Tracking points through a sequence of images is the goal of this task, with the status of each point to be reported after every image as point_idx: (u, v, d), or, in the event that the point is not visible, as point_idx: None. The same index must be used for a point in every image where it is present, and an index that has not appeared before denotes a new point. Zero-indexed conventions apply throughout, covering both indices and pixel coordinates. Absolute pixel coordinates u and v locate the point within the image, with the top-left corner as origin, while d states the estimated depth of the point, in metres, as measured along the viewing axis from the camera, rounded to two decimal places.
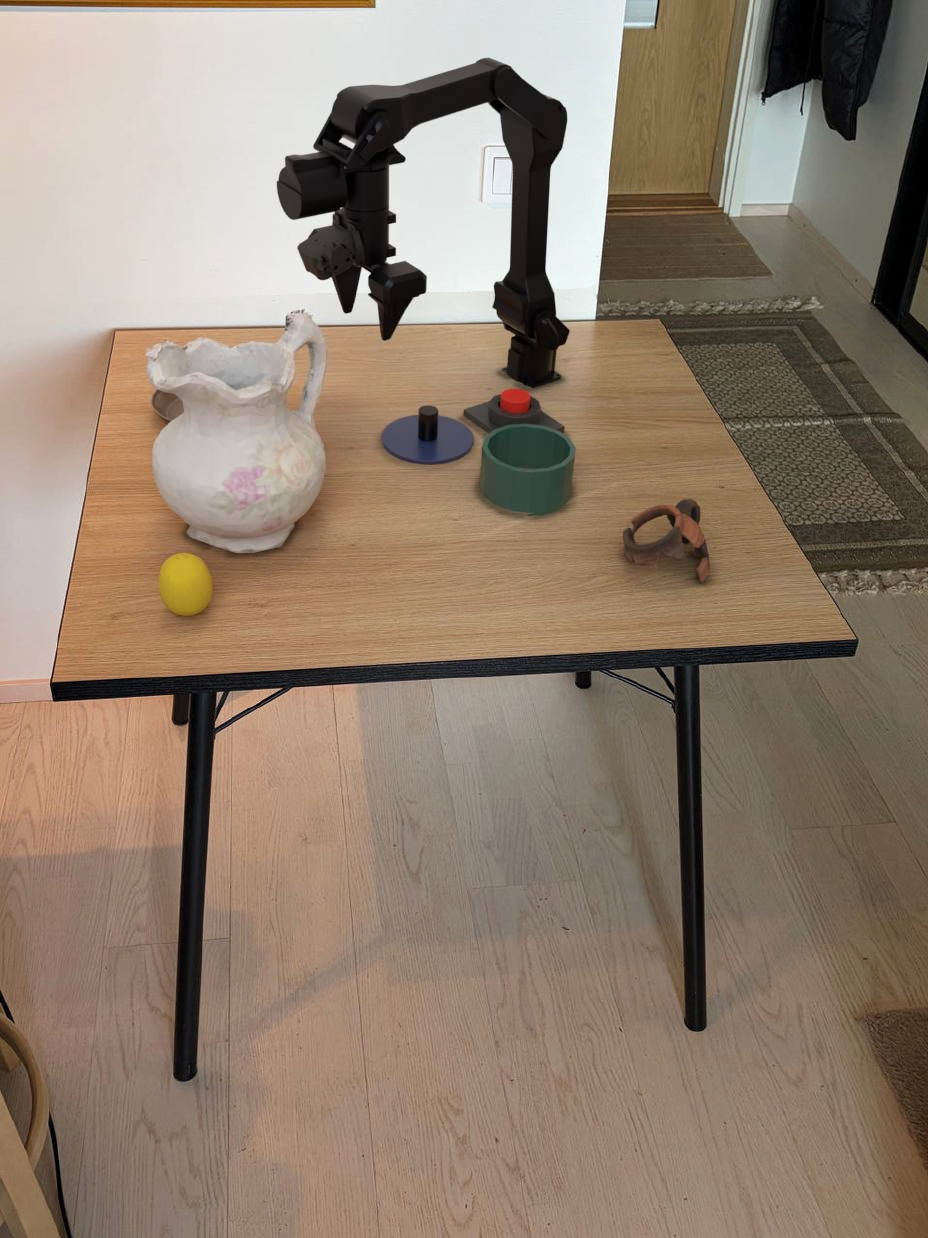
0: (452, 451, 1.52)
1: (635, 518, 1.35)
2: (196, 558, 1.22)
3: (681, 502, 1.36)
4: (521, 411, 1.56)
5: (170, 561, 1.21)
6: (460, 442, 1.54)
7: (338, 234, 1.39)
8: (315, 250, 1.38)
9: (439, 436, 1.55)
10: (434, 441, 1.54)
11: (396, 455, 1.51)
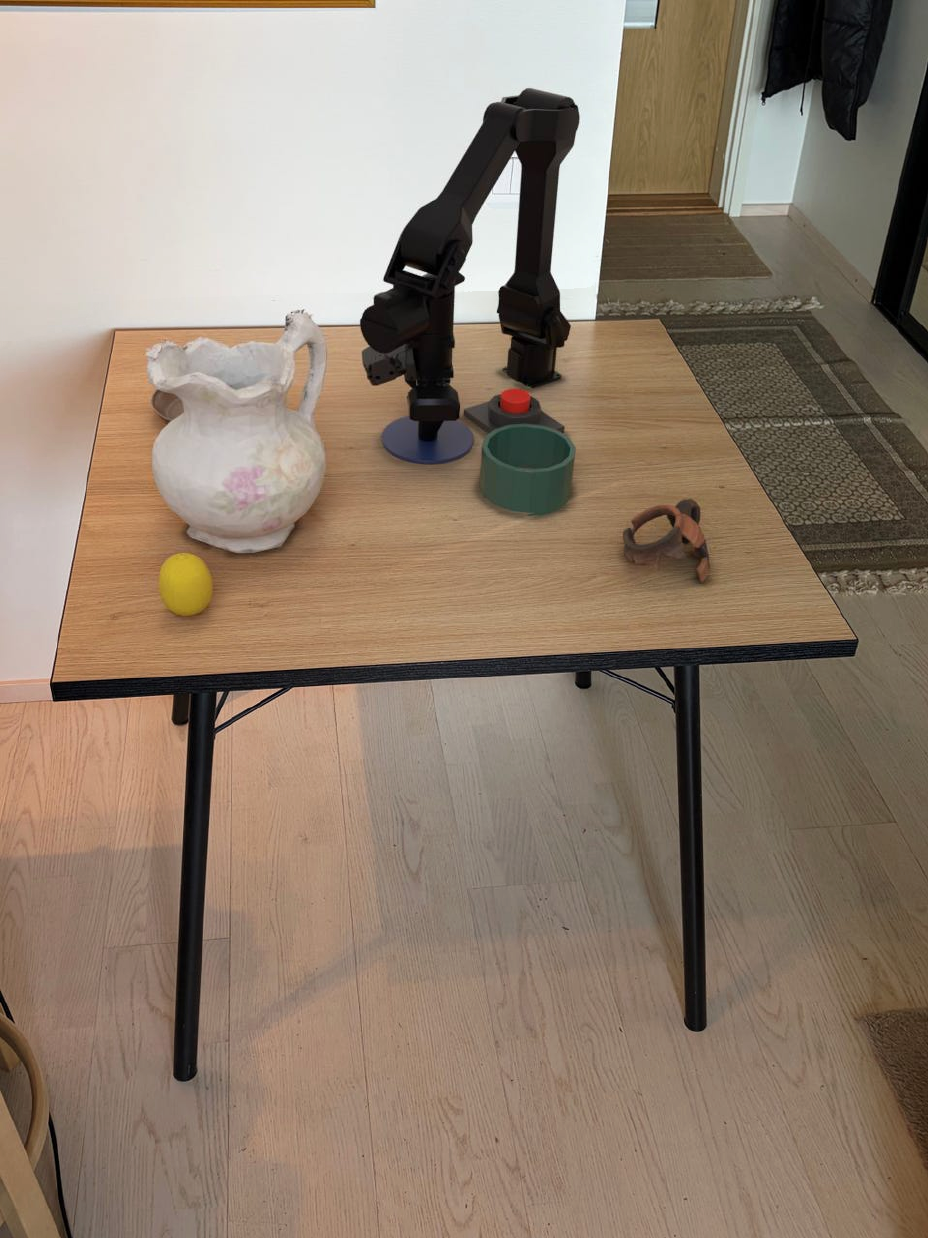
0: (452, 451, 1.52)
1: (635, 518, 1.35)
2: (196, 558, 1.22)
3: (681, 502, 1.36)
4: (521, 411, 1.56)
5: (170, 561, 1.21)
6: (460, 442, 1.54)
7: (397, 347, 1.46)
8: (371, 357, 1.46)
9: (439, 436, 1.55)
10: (434, 441, 1.54)
11: (396, 455, 1.51)
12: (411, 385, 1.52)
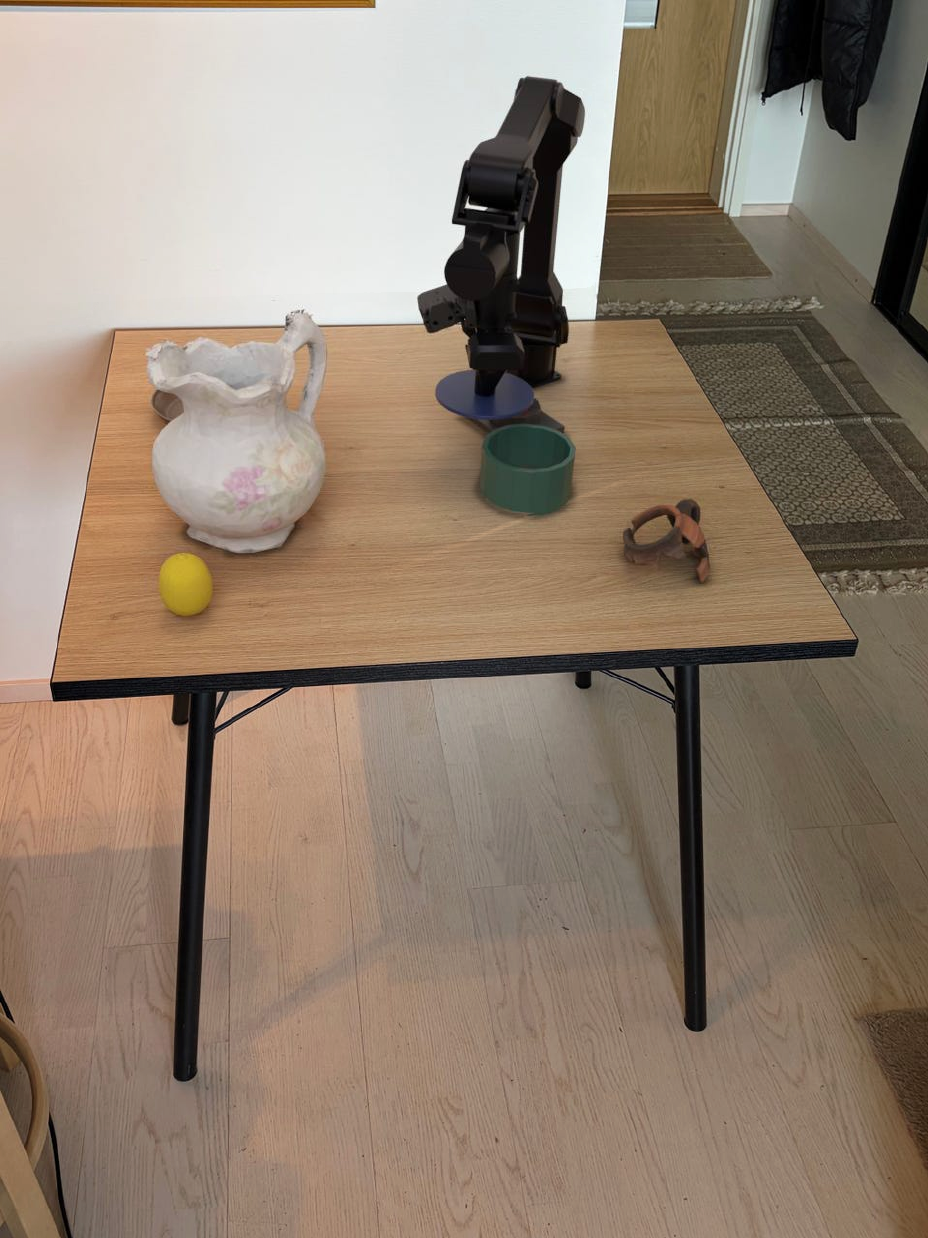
0: (512, 407, 1.41)
1: (635, 518, 1.35)
2: (196, 558, 1.22)
3: (681, 502, 1.36)
4: None
5: (170, 561, 1.21)
6: (520, 397, 1.43)
7: None
8: (427, 302, 1.35)
9: (497, 391, 1.44)
10: (492, 396, 1.43)
11: (451, 410, 1.40)
12: (469, 335, 1.41)
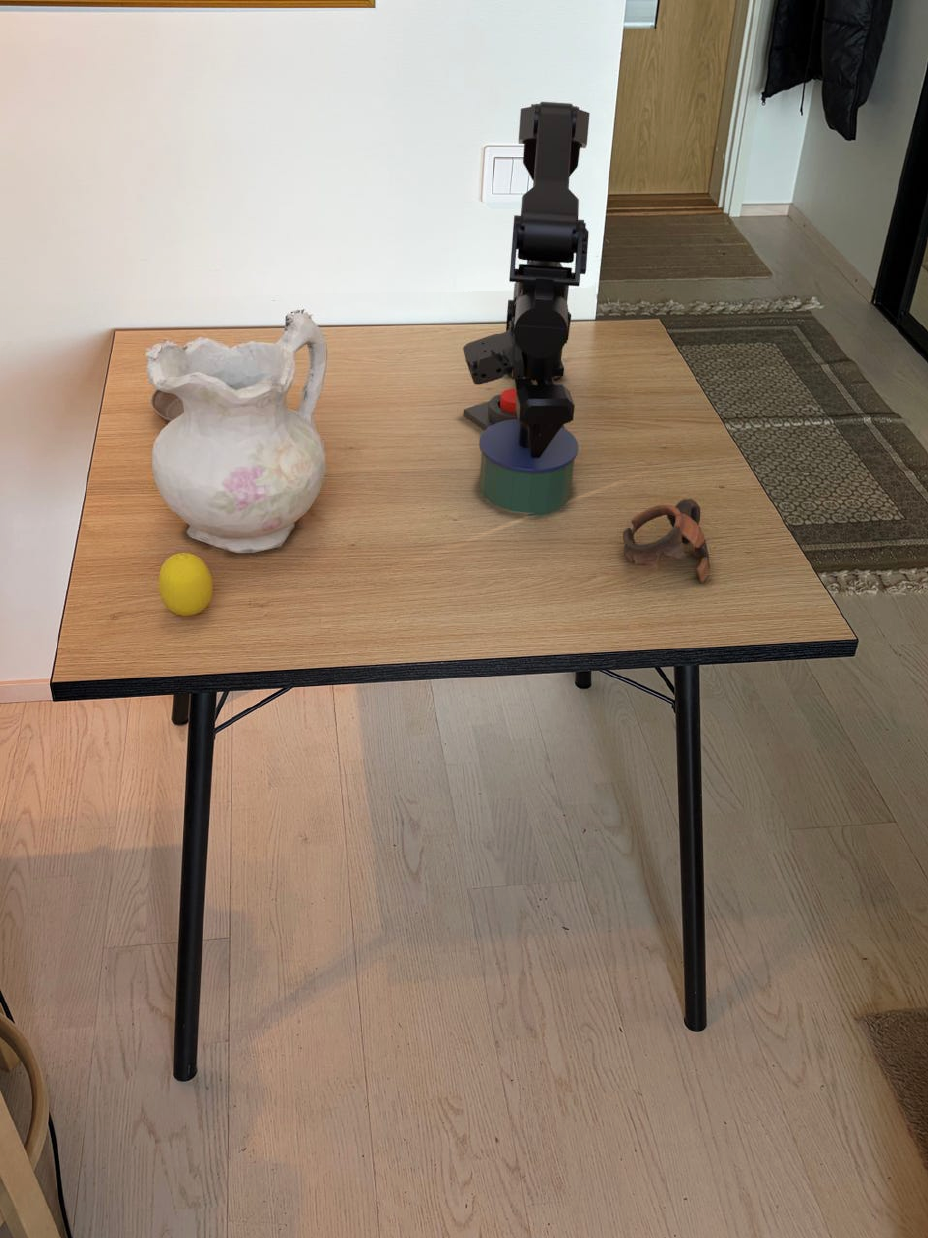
0: (557, 459, 1.40)
1: (635, 518, 1.35)
2: (196, 558, 1.22)
3: (681, 502, 1.36)
4: None
5: (170, 561, 1.21)
6: (564, 449, 1.42)
7: (503, 342, 1.34)
8: (474, 353, 1.34)
9: None
10: None
11: (497, 463, 1.40)
12: (510, 372, 1.42)
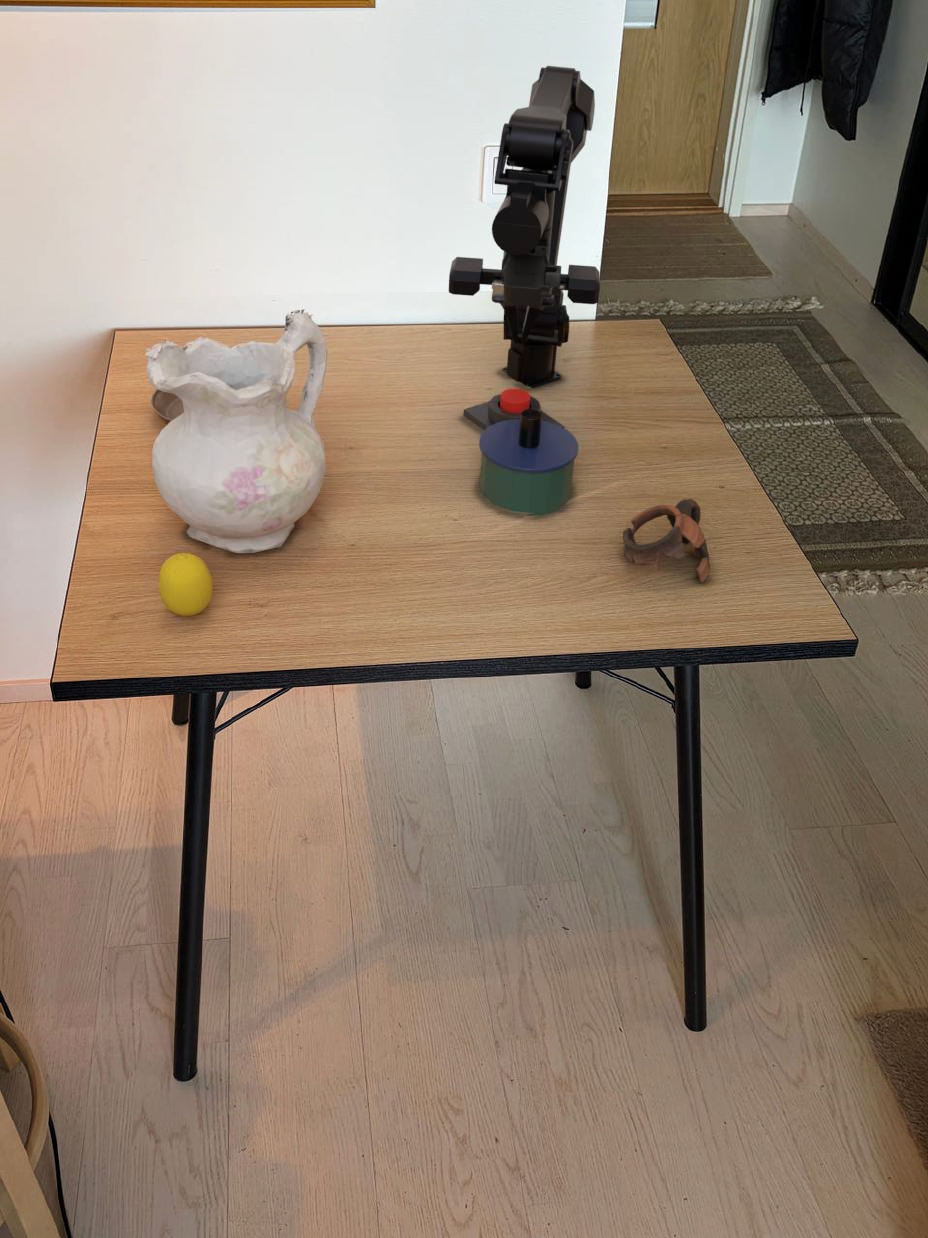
0: (557, 459, 1.40)
1: (635, 518, 1.35)
2: (196, 558, 1.22)
3: (681, 502, 1.36)
4: (521, 411, 1.56)
5: (170, 561, 1.21)
6: (564, 449, 1.42)
7: (530, 260, 1.41)
8: (530, 280, 1.39)
9: (541, 442, 1.43)
10: (537, 448, 1.42)
11: (497, 463, 1.40)
12: None
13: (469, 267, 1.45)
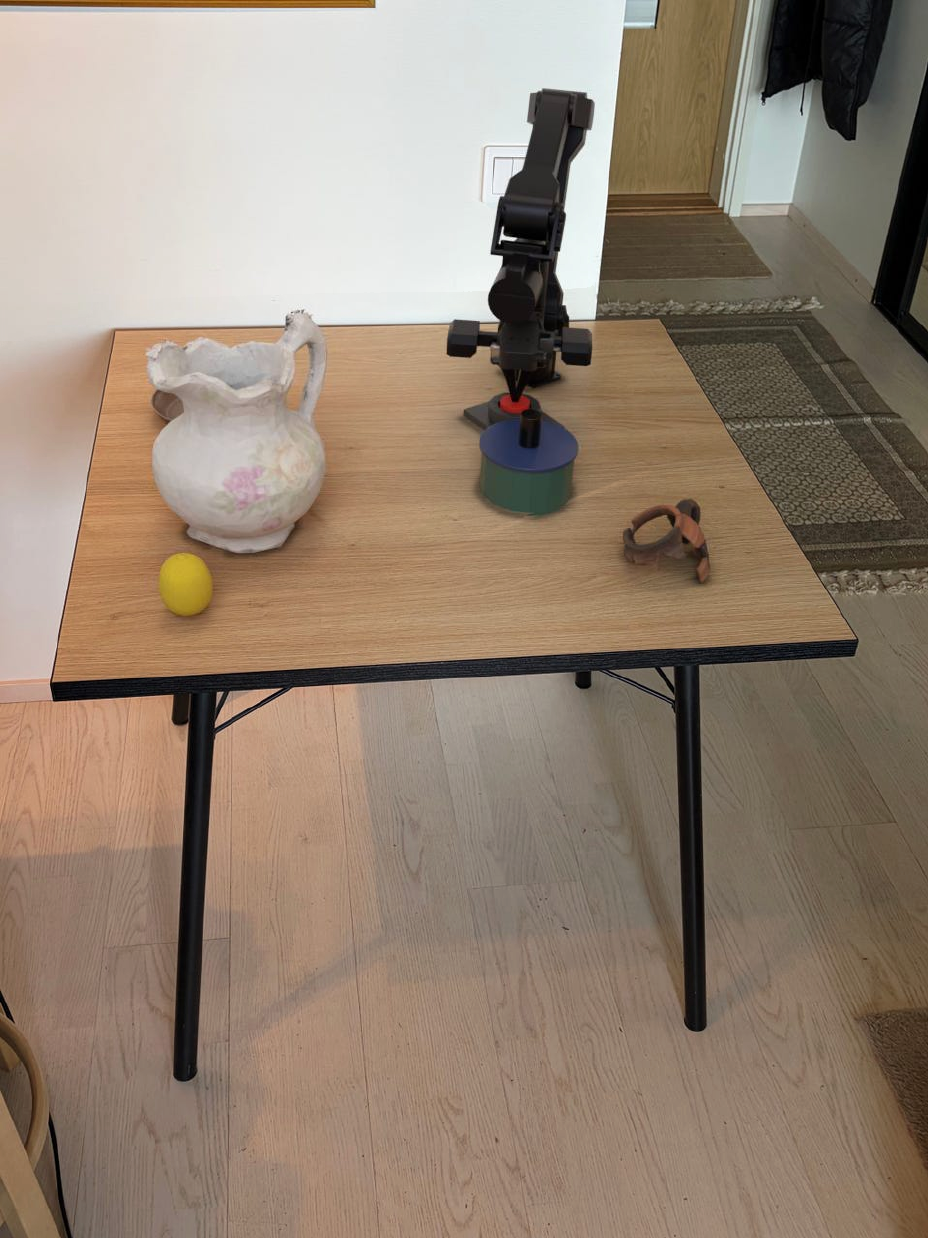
0: (557, 459, 1.40)
1: (635, 518, 1.35)
2: (196, 558, 1.22)
3: (681, 502, 1.36)
4: None
5: (170, 561, 1.21)
6: (564, 449, 1.42)
7: (524, 325, 1.46)
8: (525, 346, 1.44)
9: (541, 442, 1.43)
10: (537, 448, 1.42)
11: (497, 463, 1.40)
12: None
13: (467, 330, 1.50)
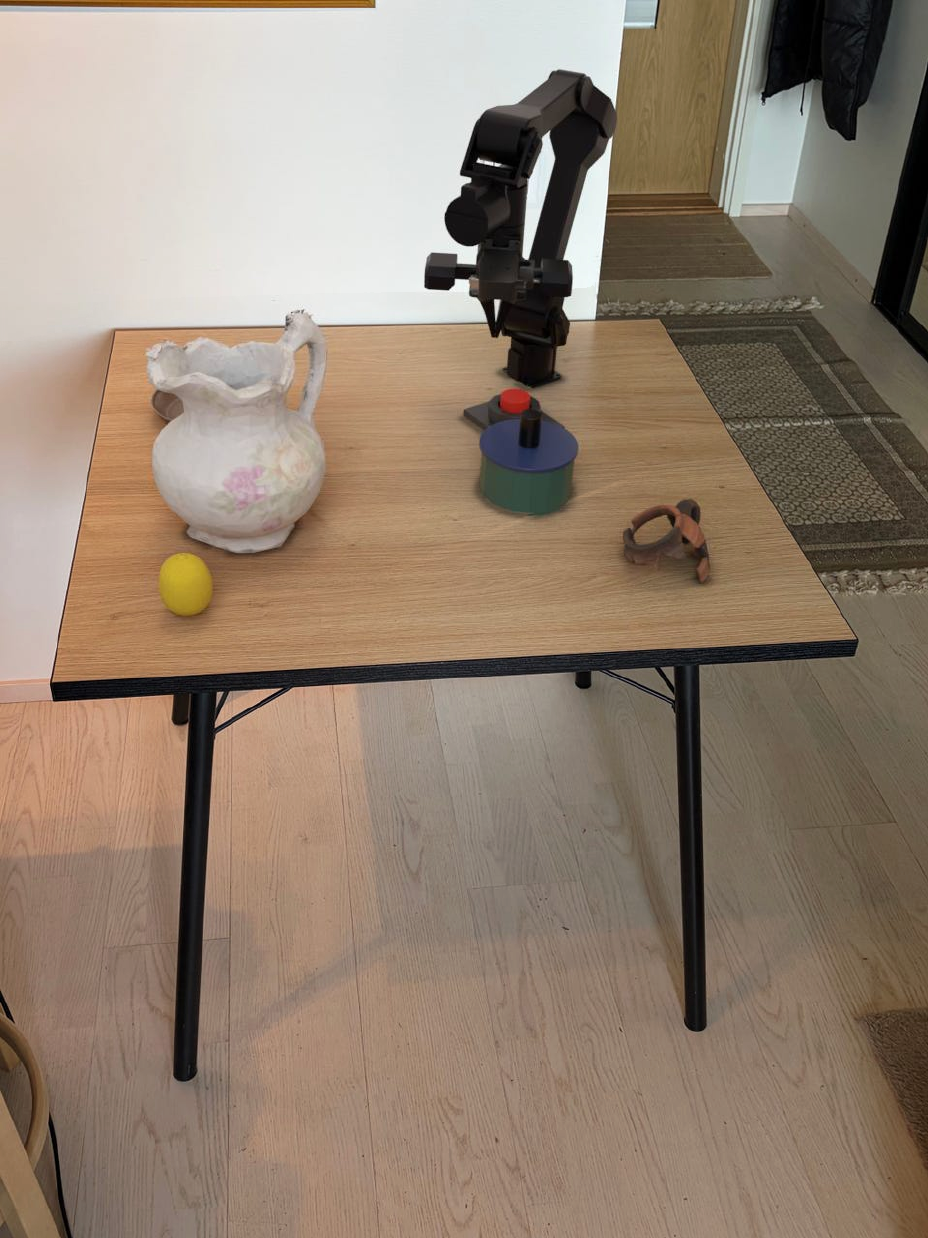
0: (557, 459, 1.40)
1: (635, 518, 1.35)
2: (196, 558, 1.22)
3: (681, 502, 1.36)
4: (521, 411, 1.56)
5: (170, 561, 1.21)
6: (564, 449, 1.42)
7: (503, 254, 1.43)
8: (504, 275, 1.41)
9: (541, 442, 1.43)
10: (537, 448, 1.42)
11: (497, 463, 1.40)
12: None
13: (444, 262, 1.47)
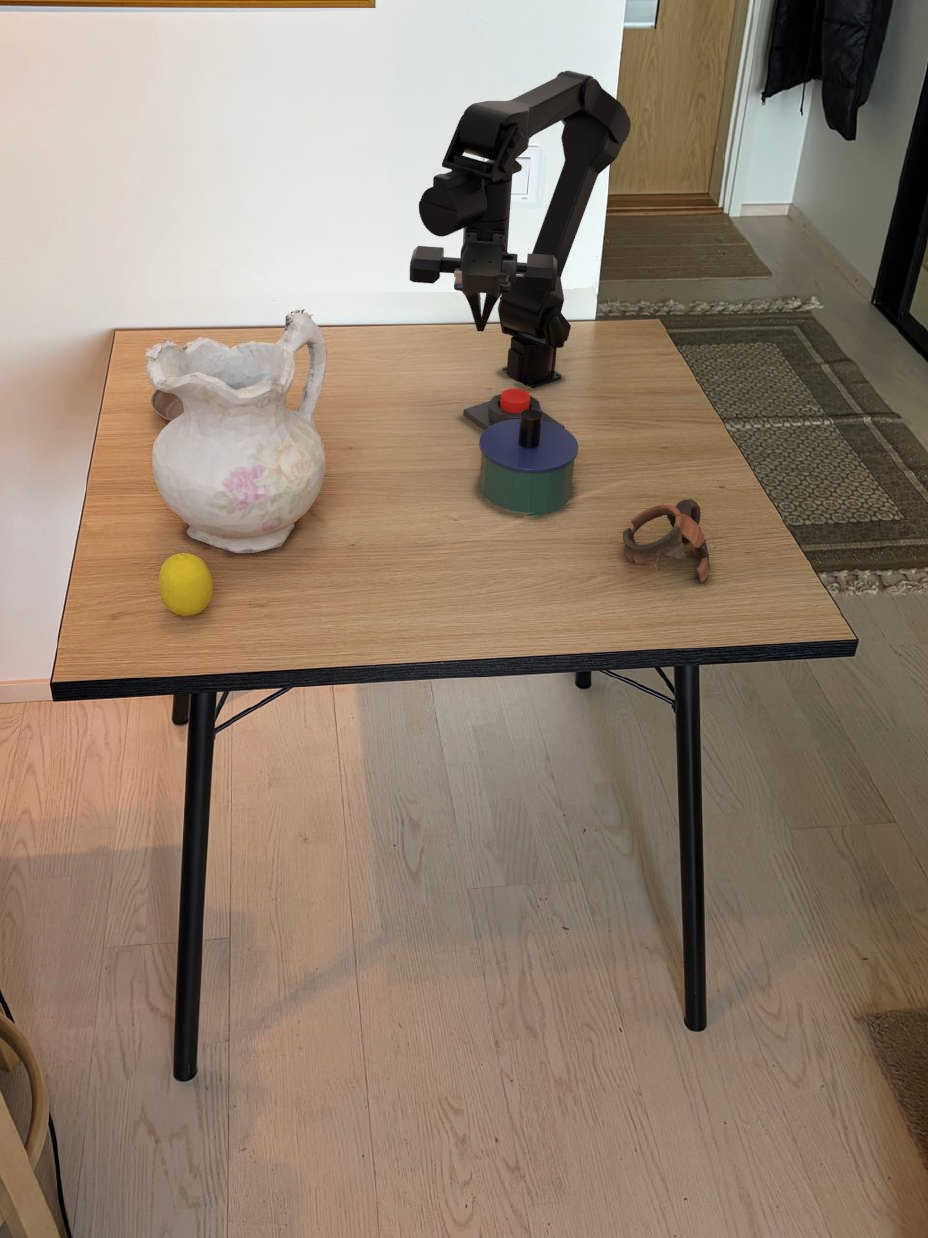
0: (557, 459, 1.40)
1: (635, 518, 1.35)
2: (196, 558, 1.22)
3: (681, 502, 1.36)
4: (521, 411, 1.56)
5: (170, 561, 1.21)
6: (564, 449, 1.42)
7: (487, 248, 1.44)
8: (487, 268, 1.42)
9: (541, 442, 1.43)
10: (537, 448, 1.42)
11: (497, 463, 1.40)
12: None
13: (430, 255, 1.49)
